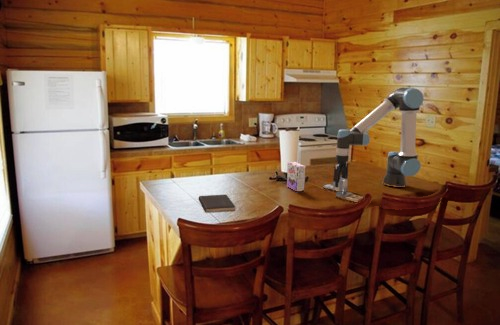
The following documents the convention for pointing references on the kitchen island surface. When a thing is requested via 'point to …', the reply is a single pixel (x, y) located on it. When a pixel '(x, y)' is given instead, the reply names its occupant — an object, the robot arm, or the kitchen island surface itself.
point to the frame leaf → (354, 198)
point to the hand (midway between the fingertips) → (339, 190)
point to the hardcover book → (216, 203)
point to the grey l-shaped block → (334, 185)
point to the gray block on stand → (344, 191)
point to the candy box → (296, 176)
